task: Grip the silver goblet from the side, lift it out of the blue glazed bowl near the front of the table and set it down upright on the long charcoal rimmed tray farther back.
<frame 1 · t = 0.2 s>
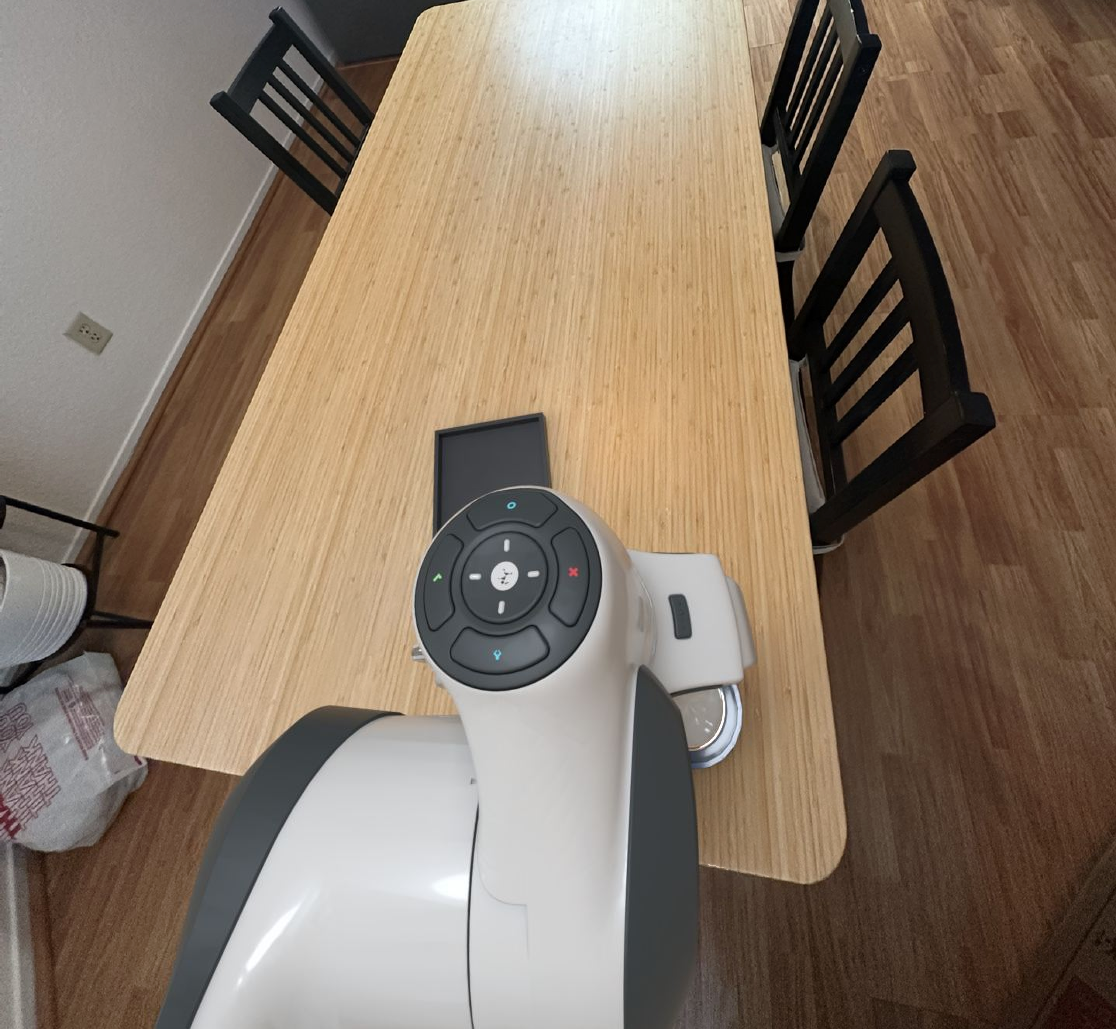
hand: (607, 653, 46), 26 cm above the table, tool pointing down, fingers open, 8 cm apart
bowl: (689, 704, 65), on the table
tray: (494, 504, 80), on the table
silver goblet: (689, 704, 65), resting on bowl
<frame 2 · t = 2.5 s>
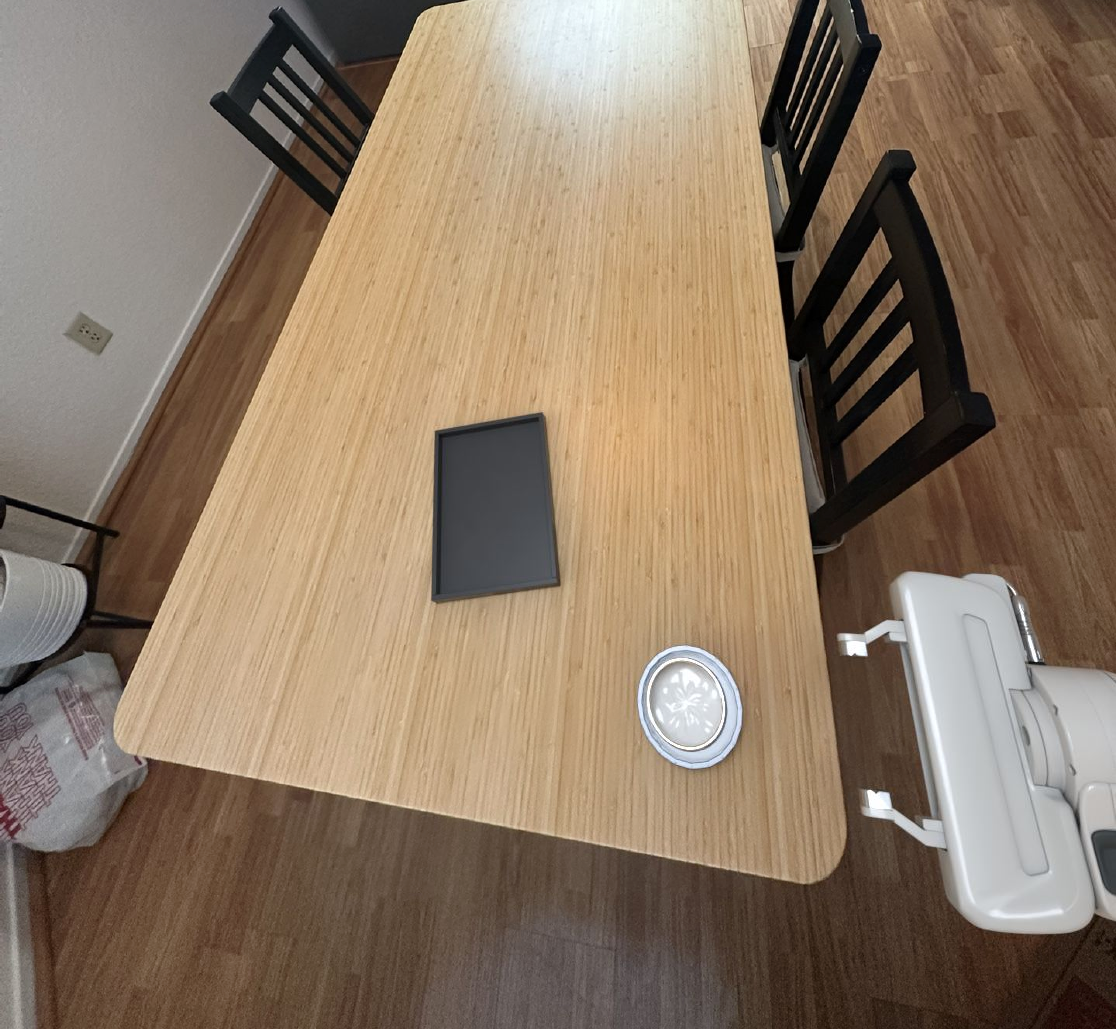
hand: (849, 718, 46), 20 cm above the table, tool horizontal, fingers open, 8 cm apart
nothing on the table moved.
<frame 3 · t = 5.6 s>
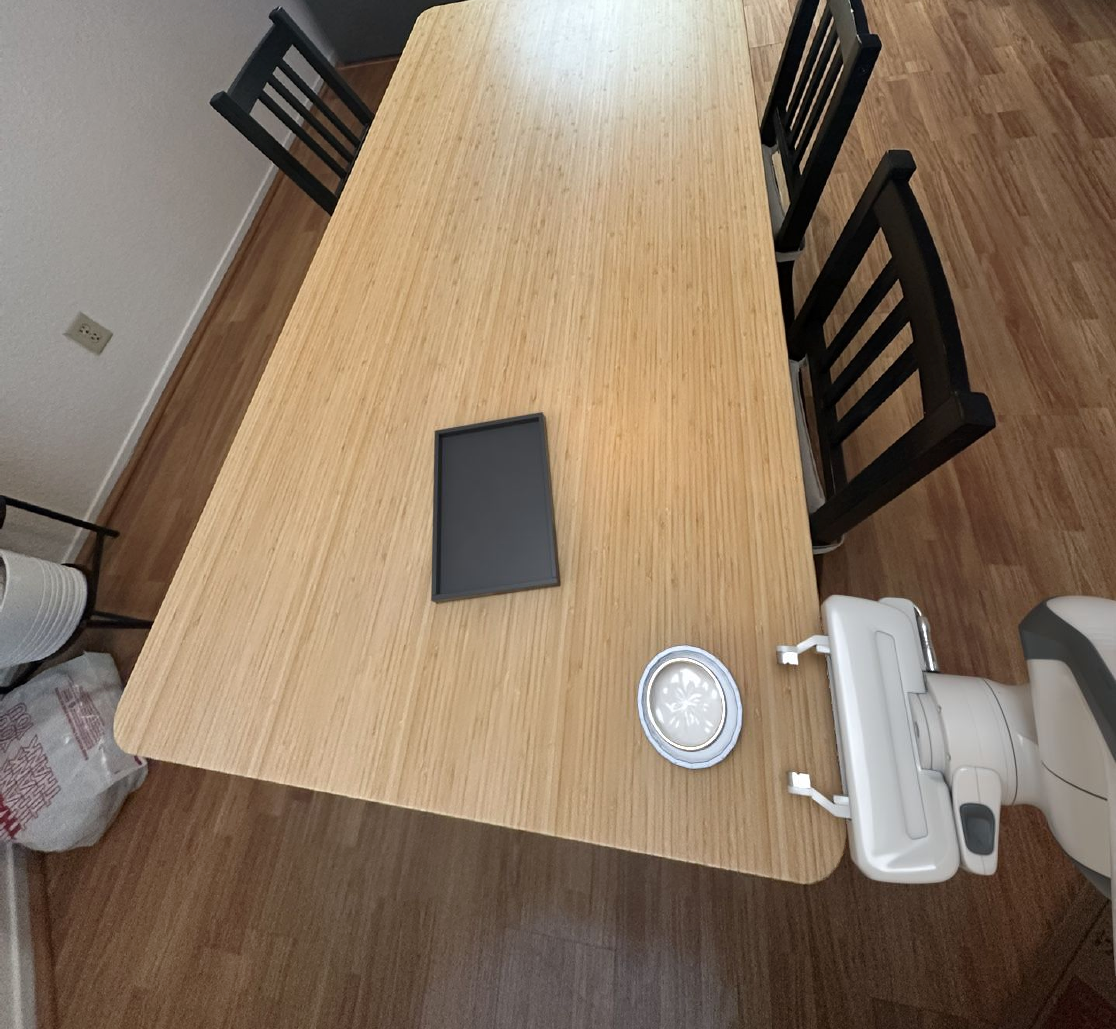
hand: (781, 715, 56), 8 cm above the table, tool horizontal, fingers open, 8 cm apart
nothing on the table moved.
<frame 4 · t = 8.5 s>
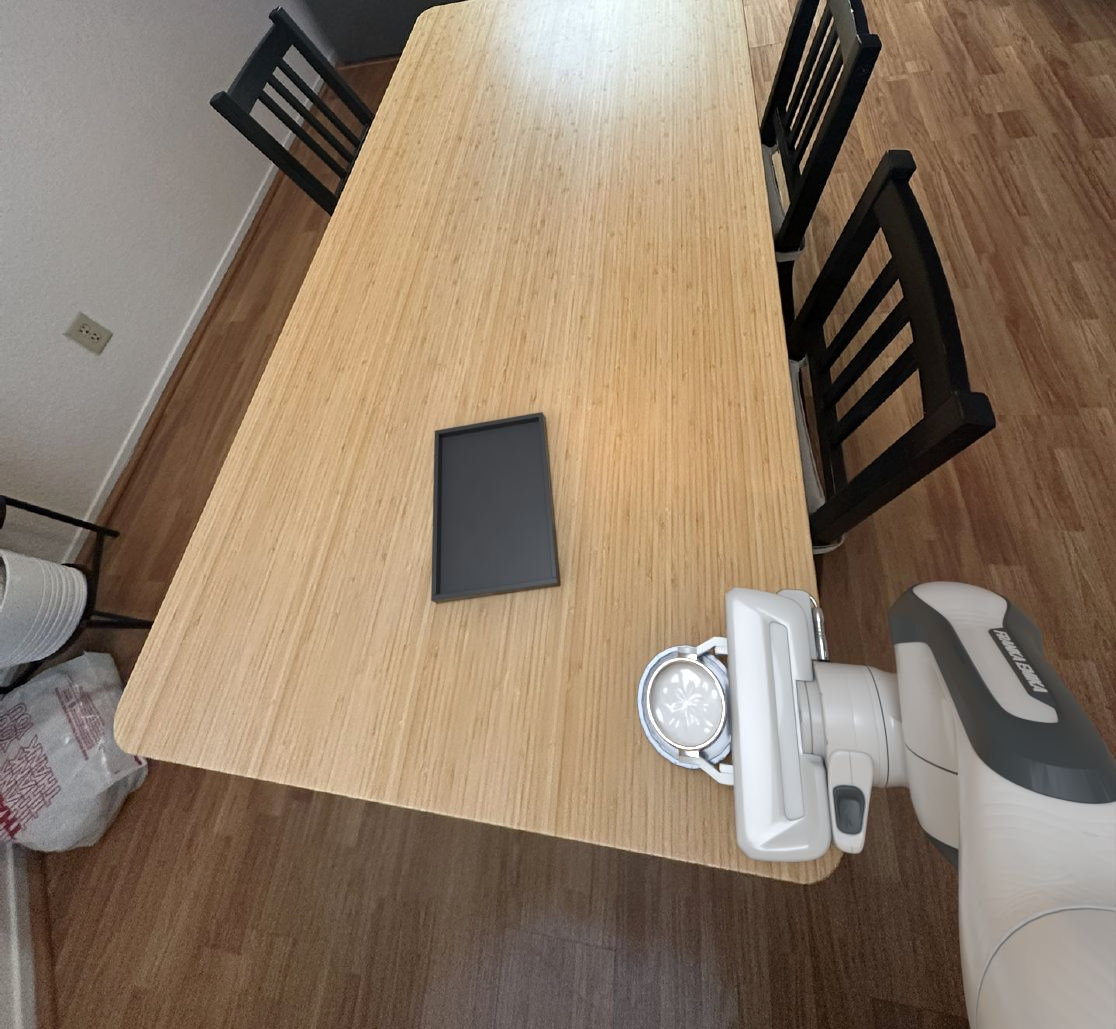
hand: (678, 702, 58), 8 cm above the table, tool horizontal, fingers closed on silver goblet, 6 cm apart
silver goblet: (690, 705, 65), resting on bowl, touching gripper
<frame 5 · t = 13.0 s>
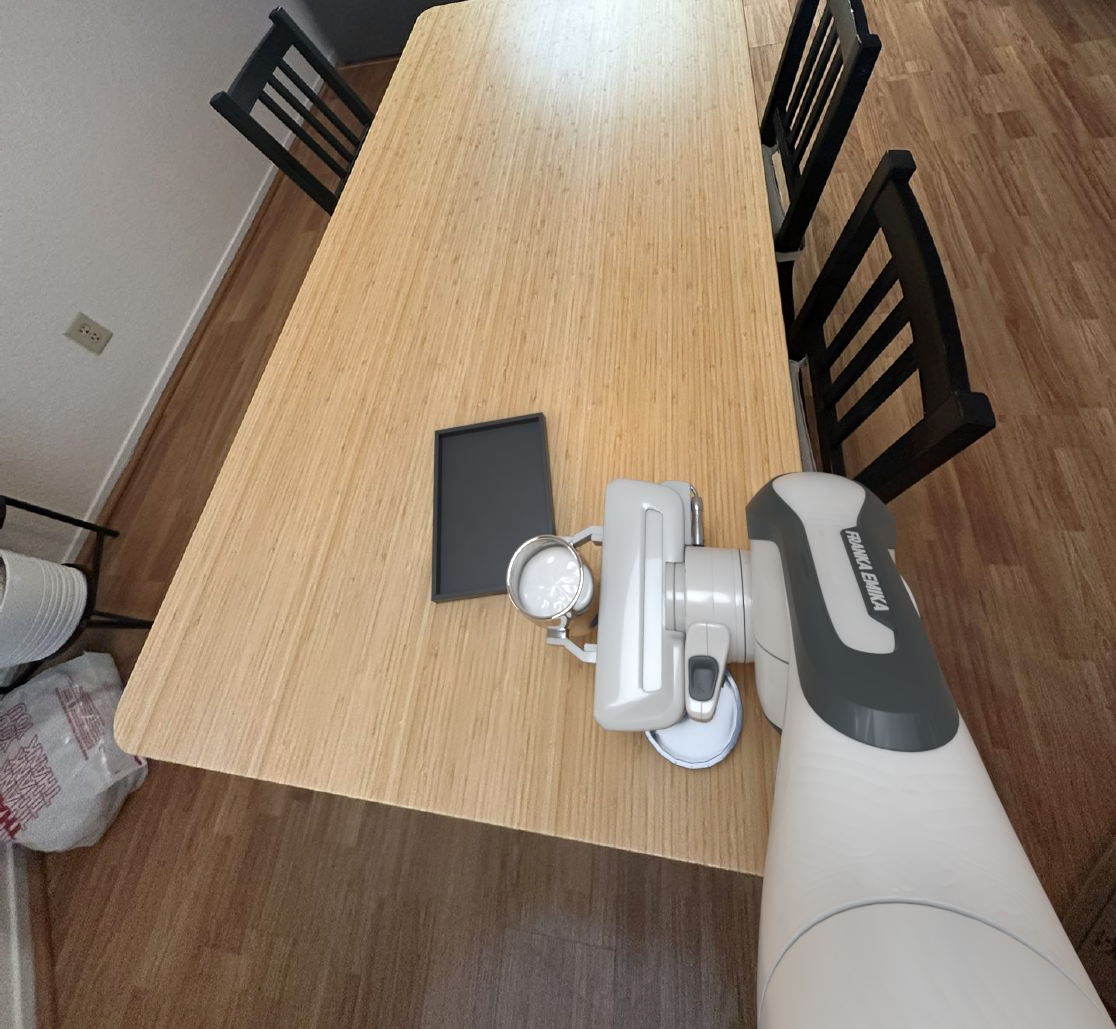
hand: (551, 589, 58), 17 cm above the table, tool horizontal, fingers closed on silver goblet, 6 cm apart
silver goblet: (576, 602, 64), point 9 cm above the table, touching gripper
when the fingers open (8 cm above the table, at t = 17.9 s): silver goblet stays where it is, resting on tray.
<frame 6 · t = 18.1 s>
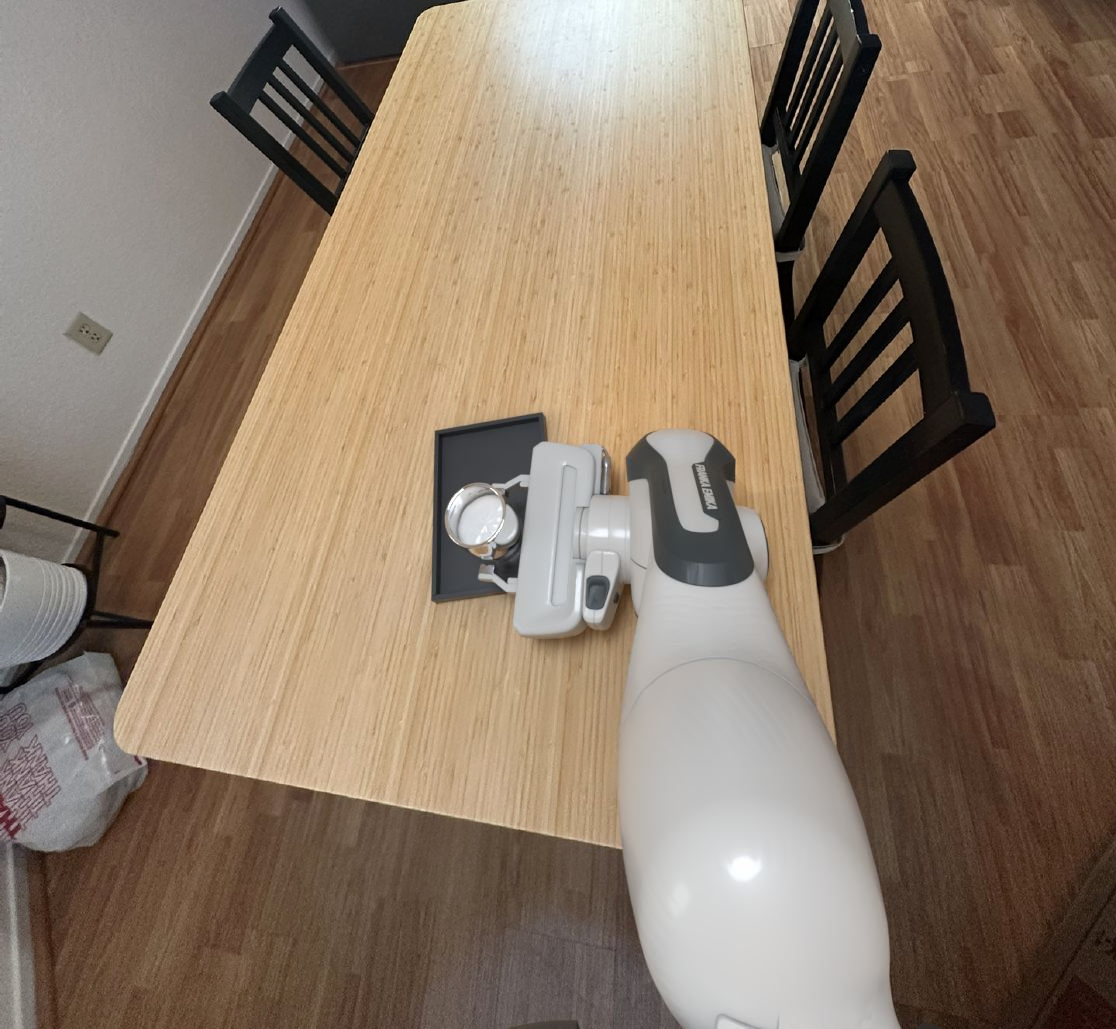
hand: (486, 530, 71), 8 cm above the table, tool horizontal, fingers open, 7 cm apart
silver goblet: (512, 546, 77), resting on tray
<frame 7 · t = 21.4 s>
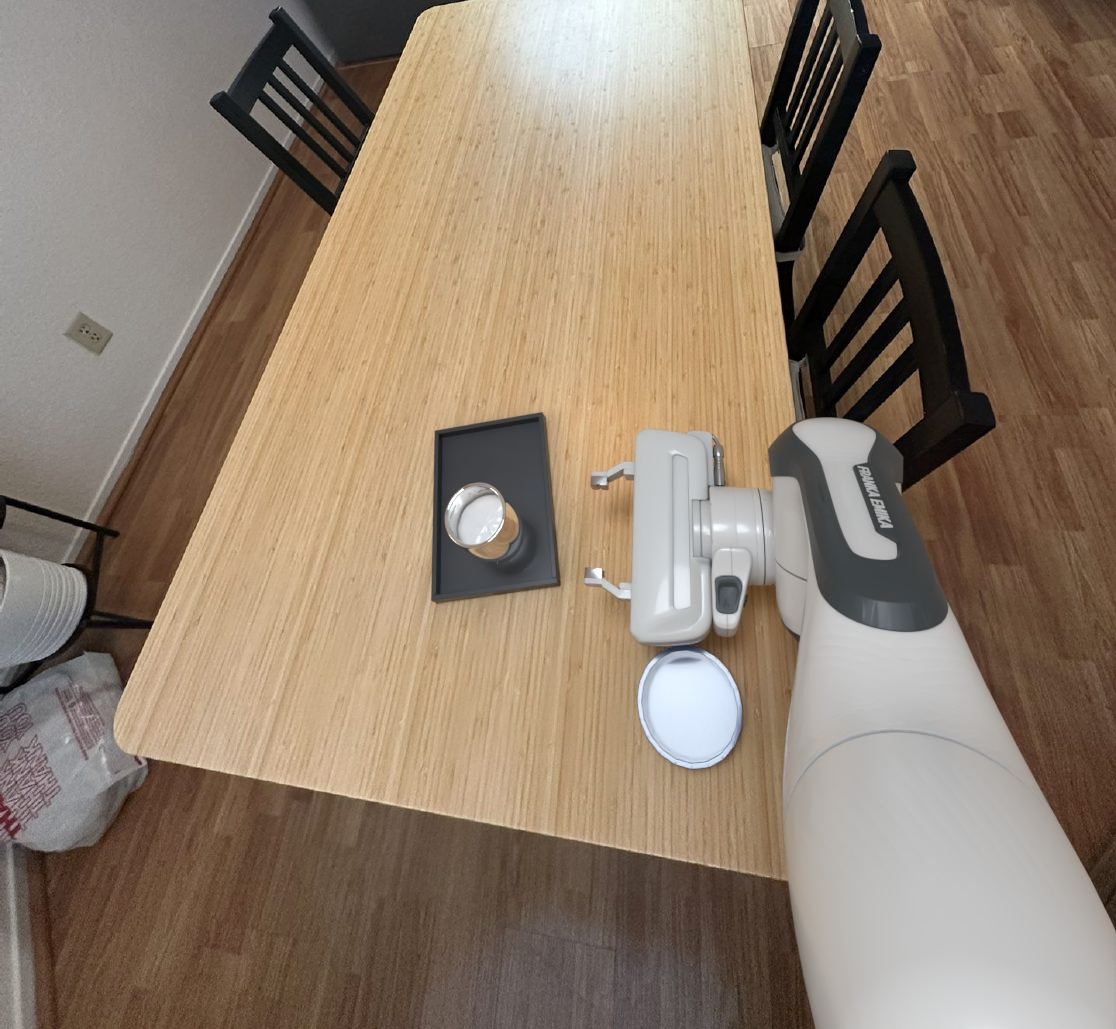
hand: (588, 526, 64), 13 cm above the table, tool horizontal, fingers open, 8 cm apart
nothing on the table moved.
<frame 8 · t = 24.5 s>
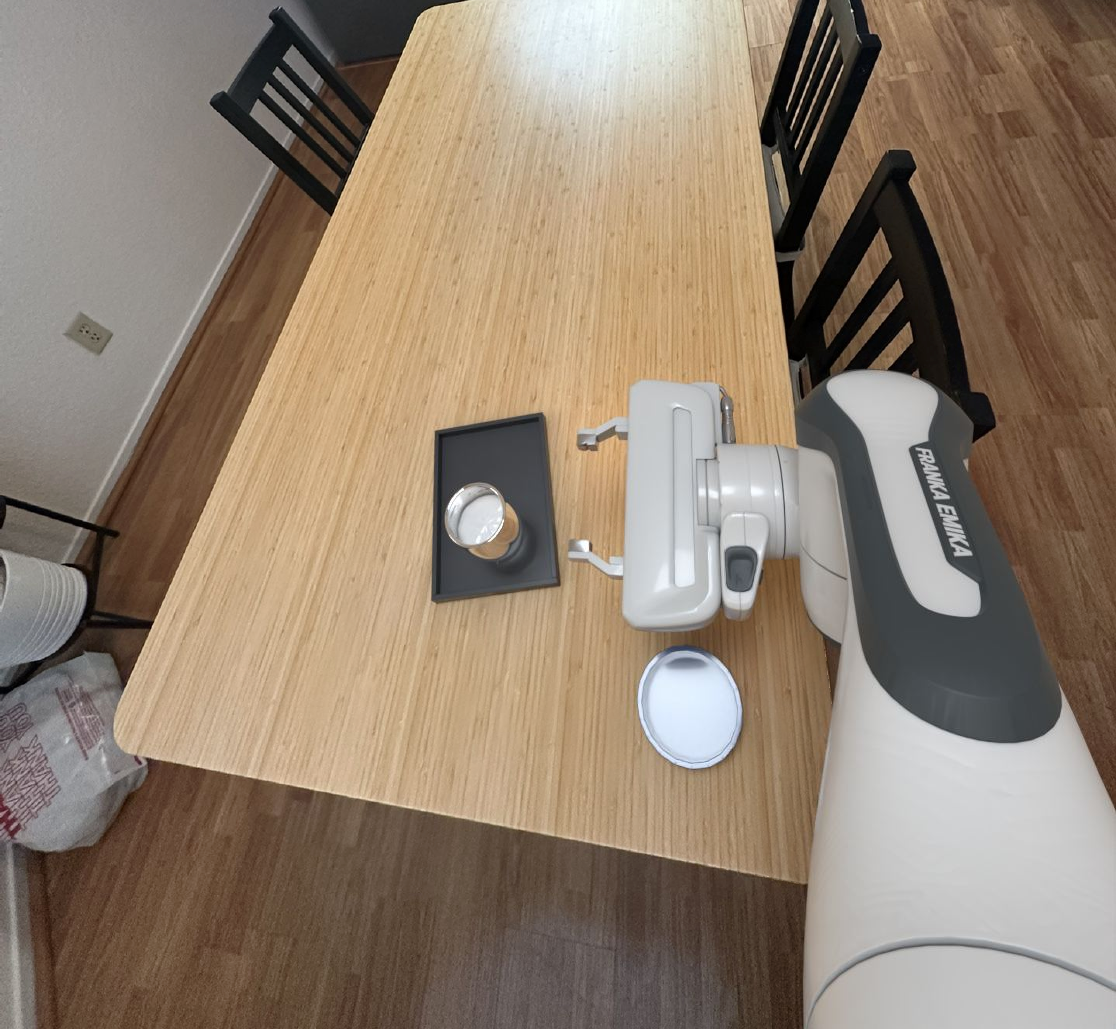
hand: (573, 492, 54), 25 cm above the table, tool horizontal, fingers open, 8 cm apart
nothing on the table moved.
at the end: silver goblet inside the target area in the tray (1.1 cm from its centre), point 0.2 cm above the tray's base; silver goblet tilted 0°; the gripper is holding nothing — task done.
